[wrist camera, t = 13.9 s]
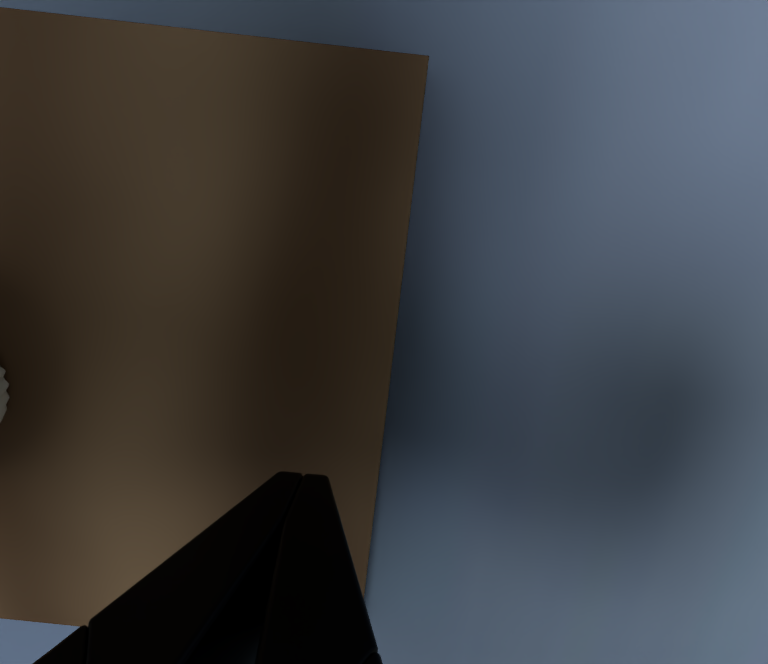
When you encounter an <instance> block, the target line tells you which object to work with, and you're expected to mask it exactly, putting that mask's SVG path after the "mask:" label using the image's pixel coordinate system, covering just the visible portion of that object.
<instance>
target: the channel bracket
mask: <svg viewBox="0 0 768 664" xmlns="http://www.w3.org/2000/svg"><path fill="white" fill-rule="evenodd" d="M428 61H429V56H425V55H416V54H408V53H399V52H390V51H381V50H372V49H363V48H355V47H346V46H337V45H328V44H319V43H311V42H302V41H293V40H284V39H275V38H267V37H258V36H249V35H240V34H231V33H222V32H214V31H205V30H196V29H187V28H178V27H170V26H161V25H152V24H143V23H134V22H126V21H117V20H108V19H99V18H90V17H81V16H73V15H64V14H55V13H46V12H37V11H29V10H20V9H11V8H2V7H0V366H1V367H2V368H3V369H5V371H6V372H5V374H4V379H5V380H6V381H7V382H8V383H9V386H8V388H7V389H6V391H7V393H8V395H9V400H8V402H7V404H6V406H7V410H6V412H5V414H4V416H3V419H2V421H1V422H0V618H3V619H13V620H23V621H32V622H42V623H52V624H62V625H71V626H82V625H86V626H88V623H89V620H90V619H91V618H92V617H94V616H95V615H96V614H98V613H99V612H100V611H101V610H103V609H104V608H105V607H107V606H108V605H109V604H110V603H112V602H113V601H114V600H115V599H117V598H118V597H119V596H121V595H122V594H123V593H124V592H126V591H127V590H128V589H129V588H131V587H132V586H133V585H135V584H136V583H137V582H138V581H140V580H141V579H142V578H143V577H145V576H146V575H147V574H149V573H150V572H151V571H152V570H154V569H155V568H156V567H157V566H159V565H160V564H161V563H163V562H164V561H165V560H166V559H168V558H169V557H170V556H172V555H173V554H174V553H175V552H177V551H178V550H179V549H180V548H182V547H183V546H184V545H186V544H187V543H188V542H189V541H191V540H192V539H193V538H194V537H196V536H197V535H198V534H200V533H201V532H202V531H203V530H205V529H206V528H207V527H208V526H210V525H211V524H212V523H214V522H215V521H216V520H217V519H219V518H220V517H221V516H222V515H224V514H225V513H226V512H228V511H229V510H230V509H231V508H233V507H234V506H235V505H237V504H238V503H239V502H240V501H242V500H243V499H244V498H245V497H247V496H248V495H249V494H251V493H252V492H253V491H254V490H256V489H257V488H258V487H259V486H261V485H262V484H263V483H265V482H266V481H267V480H268V479H270V478H271V477H272V476H273V475H275V474H276V473H278V472H280V471H288V472H298V473H301V474H302V475H303V476H304V475H305V474H308V473H309V474H319V475H326V476H328V478H329V480H330V484H331V487H332V491H333V494H334V498H335V501H336V505H337V508H338V512H339V515H340V519H341V522H342V526H343V529H344V533H345V536H346V540H347V543H348V546H349V550H350V553H351V557H352V560H353V564H354V567H355V571H356V574H357V578H358V581H359V585H360V588H361V592H362V595H363V599H364V592H365V584H366V575H367V567H368V559H369V550H370V542H371V534H372V525H373V517H374V509H375V501H376V492H377V484H378V476H379V467H380V459H381V451H382V442H383V434H384V426H385V418H386V409H387V401H388V393H389V384H390V376H391V368H392V360H393V351H394V343H395V335H396V326H397V318H398V310H399V301H400V293H401V285H402V277H403V268H404V260H405V252H406V243H407V235H408V227H409V218H410V210H411V202H412V194H413V185H414V177H415V169H416V160H417V152H418V144H419V135H420V127H421V119H422V111H423V102H424V94H425V86H426V77H427V69H428Z"/></svg>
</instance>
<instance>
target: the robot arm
mask: <svg viewBox="0 0 768 664" xmlns="http://www.w3.org/2000/svg"><path fill="white" fill-rule="evenodd" d="M377 652H378V647H377V644H376V640H375V637H374V633H373V630H372V626H371V623H370V619H369V616H368V612H367V609H366V606H365V602H364V599H363V595H362V592H361V588H360V585H359V581H358V578H357V574H356V571H355V567H354V564H353V560H352V557H351V553H350V550H349V546H348V543H347V540H346V536H345V533H344V529H343V526H342V522H341V519H340V515H339V512H338V508H337V505H336V501H335V498H334V494H333V491H332V487H331V484H330V480H329V478H328V476H326V475H319V474H309V473H308V474H305V475H304V476H303V475H302V474H301V473H298V472H288V471H280V472H278V473H276V474H275V475H273V476H272V477H271V478H270V479H268V480H267V481H266V482H265V483H263V484H262V485H261V486H259V487H258V488H257V489H256V490H254V491H253V492H252V493H251V494H249V495H248V496H247V497H245V498H244V499H243V500H242V501H240V502H239V503H238V504H237V505H235V506H234V507H233V508H231V509H230V510H229V511H228V512H226V513H225V514H224V515H222V516H221V517H220V518H219V519H217V520H216V521H215V522H214V523H212V524H211V525H210V526H208V527H207V528H206V529H205V530H203V531H202V532H201V533H200V534H198V535H197V536H196V537H194V538H193V539H192V540H191V541H189V542H188V543H187V544H186V545H184V546H183V547H182V548H180V549H179V550H178V551H177V552H175V553H174V554H173V555H172V556H170V557H169V558H168V559H166V560H165V561H164V562H163V563H161V564H160V565H159V566H157V567H156V568H155V569H154V570H152V571H151V572H150V573H149V574H147V575H146V576H145V577H143V578H142V579H141V580H140V581H138V582H137V583H136V584H135V585H133V586H132V587H131V588H129V589H128V590H127V591H126V592H124V593H123V594H122V595H121V596H119V597H118V598H117V599H115V600H114V601H113V602H112V603H110V604H109V605H108V606H107V607H105V608H104V609H103V610H101V611H100V612H99V613H98V614H96V615H95V616H94V617H92V618H91V619H90V620H89V623H88V626H86V625H82V626H81V627H79V628H78V629H77V630H76V631H74V632H73V633H72V634H70V635H69V636H68V637H67V638H65V639H64V640H63V641H62V642H60V643H59V644H58V645H56V646H55V647H54V648H53V649H51V650H50V651H49V652H47V653H46V654H45V655H43V656H42V657H41V658H39V659H38V660H37V661H35V662H34V663H33V664H383V663H382V660H381V656H380V654H378V653H377Z"/></svg>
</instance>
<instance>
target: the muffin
mask: <svg viewBox="0 0 768 664" xmlns="http://www.w3.org/2000/svg"><path fill="white" fill-rule="evenodd" d="M5 372H6V371H5V369H3V368H2V367H1V366H0V422H1V421H2V419H3V416H4V414H5V412H6V410H7V406H6V404H7V402H8V400H9V395H8V393H7V391H6V389H7V388H8V386H9V383H8V382H7V381H6V380H5V379H4V374H5Z"/></svg>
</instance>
